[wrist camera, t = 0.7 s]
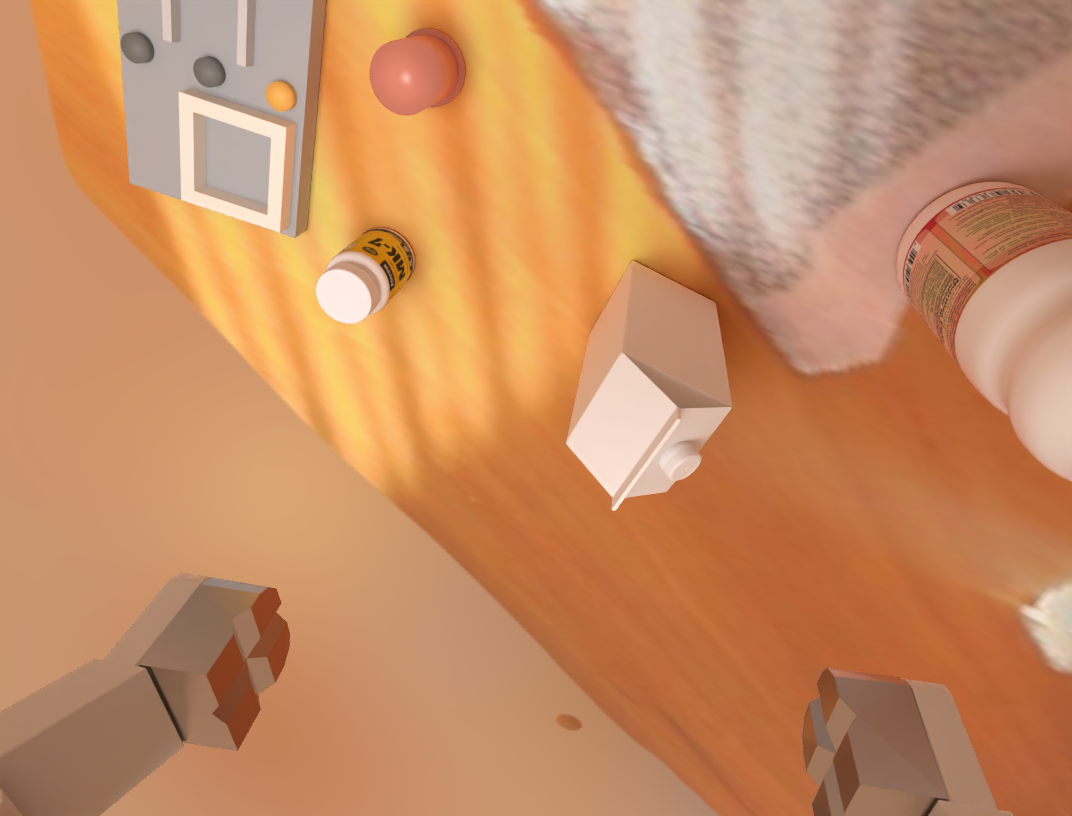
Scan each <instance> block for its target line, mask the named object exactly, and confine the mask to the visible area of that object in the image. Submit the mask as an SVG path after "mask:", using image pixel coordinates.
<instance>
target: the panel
mask: <svg viewBox="0 0 1072 816" xmlns="http://www.w3.org/2000/svg"><path fill="white" fill-rule="evenodd" d="M326 1H327V0H117V3H118V18H119V32H120V47H121V62H122V77H123V91H124V106H125V121H126V135H127V150H128V165H129V179H130V183H131V184H134V185H138V186H141V187H144V188H147V189H150V190H153V191H156V192H159V193H162V194H165V195H168V196H171V197H174V198H177V199H180V200H183V201H186V202H189V203H192V204H195V205H198V206H201V207H204V208H207V209H210V210H213V211H216V212H219V213H222V214H225V215H228V216H231V217H234V218H237V219H240V220H243V221H246V222H249V223H252V224H255V225H258V226H261V227H264V228H267V229H270V230H273V231H276V232H279V233H282V234H285V235H288V236H291V237H294V238H296V237H297V236H299V235H300V234H301V233H303V232H304V231H306V230H307V223H308V212H309V200H310V188H311V177H312V165H313V153H314V142H315V130H316V118H317V106H318V95H319V83H320V71H321V60H322V48H323V36H324V25H325V13H326Z"/></svg>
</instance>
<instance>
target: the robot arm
mask: <svg viewBox="0 0 1072 816" xmlns="http://www.w3.org/2000/svg"><path fill="white" fill-rule="evenodd" d="M280 605H281V600H280V598H279V595H278V592H277V589H275V588H270V587H264V586H259V585H253V584H247V583H241V582H235V581H229V580H224V579H218V578H213V577H206V576H200V575H193V574H187V573H180V574H178V575H177V576H175V577H173V578H172V579H170V580H169V581H168V582H167V584H166V585H165V586H164V587H163V589H162V590H161V591H160V592H159V593H158V594H157V596H156V597H155V598H154V599H153V601H152V602H151V603H150V604H149V605H148V607H147V608H146V609H145V610H144V611H143V613H142V614H141V615H140V616H139V618H138V619H137V620H136V621H135V622H134V624H133V625H132V626H131V627H130V629H129V630H128V631H127V632H126V633H125V635H124V636H123V637H122V638H121V639H120V641H119V642H118V643H117V644H116V645H115V647H114V648H113V649H112V650H111V651H110V653H109V654H108V655H107V657H106V658H105V659H104V660H98V659H93V660H92V661H90V662H88V663H86V664H84V665H83V666H81V667H79V668H77V669H76V670H74V671H72V672H70V673H69V674H67V675H65V676H63V677H61V678H60V679H58V680H56V681H54V682H52V683H51V684H49V685H47V686H45V687H43V688H42V689H40V690H38V691H37V692H35V693H33V694H31V695H29V696H27V697H26V698H24V699H22V700H20V701H18V702H17V703H15V704H13V705H11V706H10V707H8V708H6V709H4V710H2V711H1V712H0V816H100V815H101V814H102V813H103V812H104V811H106V810H107V809H108V808H109V807H111V806H112V805H113V804H114V803H115V802H117V801H118V800H119V799H120V798H122V797H123V796H124V795H125V794H126V793H128V792H129V791H130V790H131V789H132V788H134V787H135V786H136V785H137V784H139V783H140V782H141V781H142V780H143V779H145V778H146V777H147V776H148V775H150V774H151V773H152V772H153V771H155V770H156V769H157V768H158V767H159V766H161V765H162V764H163V763H164V762H165V761H167V760H168V759H169V758H170V757H172V756H173V755H174V754H175V753H177V751H179V750H180V749H181V748H183V746H184V744H183V743H188V744H196V745H202V746H208V747H215V748H222V749H229V750H236V751H238V749H239V747H240V746H241V744H242V742H243V740H244V738H245V737H246V735H247V733H248V731H249V729H250V728H251V726H252V724H253V722H254V720H255V719H256V717H257V715H258V713H259V711H260V710H261V709H260V703H259V696H258V695H259V694H260V693H261V692H263V691H264V690H266V689H267V688H269V687H270V686H271V685H273V684H274V683H275V682H276V680H277V678H278V677H279V675H280V673H281V671H282V669H283V667H284V665H285V661H286V657H287V654H288V650H289V646H290V641H289V640H290V633H289V629H288V625H287V622H286V621H285V620H284V619H283V618H281V616H280V615H278V614H277V613H276V611H277V610H278V608H279V606H280ZM817 685H818V690H819V695H820V697H818V698H816V699H815V700H813V701H811V702H809V704H808V707H807V710H806V713H805V716H804V723H803V733H802V741H803V754H804V761H805V767H806V771H807V773H808V774H809V775H810V776H811V778H812V779H813V780H814V781H815V783H816V784H817V785H818V787H819V790H818V792H817V794H816V796H815V799H814V801H813V803H812V808H813V813H814V816H1014V815H1013V814H1012V813H1011V812H1007V811H1002V810H998V809H997V806H996V804H995V801H994V799H993V796H992V794H991V791H990V789H989V786H988V784H987V781H986V779H985V776H984V774H983V771H982V769H981V766H980V764H979V761H978V759H977V756H976V754H975V751H974V749H973V746H972V744H971V741H970V739H969V736H968V734H967V731H966V729H965V726H964V724H963V721H962V719H961V717H960V714H959V712H958V709H957V707H956V704H955V702H954V699H953V697H952V694H951V692H950V691H949V690H948V689H947V688H946V687H945V686H944V685H942V684H937V683H930V682H922V681H915V680H908V679H901V678H900V677H893V676H886V675H878V674H871V673H863V672H856V671H848V670H840V669H833V668H826V669H825V670H824V671H822V673H821V675H820V677H819V680H818V682H817Z"/></svg>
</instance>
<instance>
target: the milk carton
mask: <svg viewBox="0 0 1072 816" xmlns="http://www.w3.org/2000/svg"><path fill="white" fill-rule="evenodd" d="M731 408H732V401H731V394H730V388H729V382H728V376H727V369H726V363H725V357H724V351H723V344H722V338H721V332H720V326H719V320H718V313H717V307H716V303H715V302H714V301H712V300H710V299H708V298H706V297H704V296H702V295H700V294H698V293H696V292H694V291H692V290H690V289H688V288H686V287H684V286H682V285H680V284H678V283H676V282H675V281H673V280H671V279H669V278H667V277H665V276H663V275H661V274H659V273H657V272H655V271H653V270H651V269H649V268H647V267H645V266H643V265H641V264H639V263H637V262H635V261H632V262H631V263H630V265H629V266H628V268H627V270H626V271H625V273H624V275H623V277H622V278H621V280H620V282H619V284H618V285H617V287H616V289H615V291H614V292H613V294H612V296H611V298H610V299H609V301H608V303H607V305H606V306H605V308H604V310H603V312H602V313H601V315H600V317H599V319H598V320H597V322H596V324H595V326H594V327H593V329H592V331H591V333H590V335H589V339H588V344H587V349H586V353H585V358H584V363H583V367H582V372H581V377H580V381H579V386H578V391H577V395H576V400H575V405H574V409H573V414H572V419H571V423H570V428H569V432H568V437H567V442H566V444H567V445H568V446H569V448H570V449H571V450H572V451H573V452H574V453H575V455H576V456H577V457H578V458H579V459H580V460H581V462H582V463H583V464H584V465H585V466H586V467H587V469H588V470H589V471H590V472H591V473H592V474H593V476H594V477H595V478H596V479H597V480H598V481H599V482H600V484H601V485H602V486H603V487H604V488H605V489H606V491H607V492H608V493H609V494H610V495H611V496H612V498H613V500H612V510H613V511H615V510H616V509H617V508H618V506H619V505H620V504H621V502H622V501H623V500H624V498H627V497H634V496H641V495H648V494H655V493H661V492H666V491H667V490H669V488H670V487H671V486H672V485H673V484H674V482H675V481H677V480H681V479H684V478H686V477H687V476H689V475H690V474H691V473H693V472H694V471H695V470H696V468H697V467H698V466H699V464H700V463H701V460H702V457H701V455H700V454H699V453H698V452H699V450H700V449H701V448H702V446H703V445H704V444H705V443H706V441H707V440H708V439H709V437H710V436H711V435H712V434H713V432H714V431H715V430H716V428H717V427H718V426H719V425H720V423H721V422H722V421H723V419H724V418H725V417H726V415H727V414H728V413H729V411H730V410H731Z"/></svg>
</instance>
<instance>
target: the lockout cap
mask: <svg viewBox="0 0 1072 816" xmlns="http://www.w3.org/2000/svg"><path fill="white" fill-rule="evenodd" d="M464 80H465V62H464V58H463V55H462V53H461V51H460V49H459V47H458V45H457V44H456V43H455V42H454V40H453V39H452V38H451V37H449V36H448V35H447V34H445V33H443V32H441V31H439V30H435V29H421V30H417V31H414V32H412V33H411V34H409V35H408V36H407V37H406V38H405V39H400V40H395V41H391V42H388V43H386V44H384V45H382V46H381V47H380V48H379V49H378V50H377V51H376V53H375V54H374V56H373V59H372V61H371V65H370V81H371V85H372V89H373V91H374V93H375V95H376V97H377V98H378V100H379V101H380V102H381V103H382V105H384V106H385V107H386V108H387V109H388V110H390V111H392V112H394V113H396V114H399V115H414V114H417V113H419V112H421V111H423V110H425V109H426V108H428V107H439V106H442V105H445V104H447V103H448V102H450V101H452V100H453V99H454V98H455V97H456V96H457V95H458V94H459V92H460V90H461V89H462V86H463V84H464Z"/></svg>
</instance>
